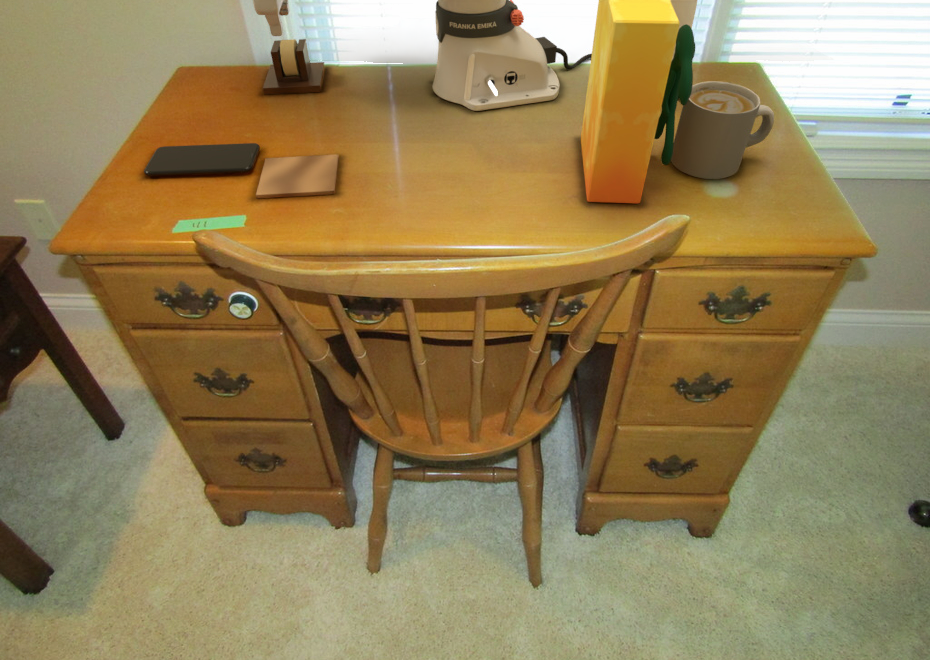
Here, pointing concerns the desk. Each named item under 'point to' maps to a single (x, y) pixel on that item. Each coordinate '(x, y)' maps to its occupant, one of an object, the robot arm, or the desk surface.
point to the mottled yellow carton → (632, 94)
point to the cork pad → (298, 176)
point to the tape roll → (289, 57)
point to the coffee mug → (718, 129)
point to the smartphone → (202, 159)
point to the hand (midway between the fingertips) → (281, 24)
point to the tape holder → (299, 83)
